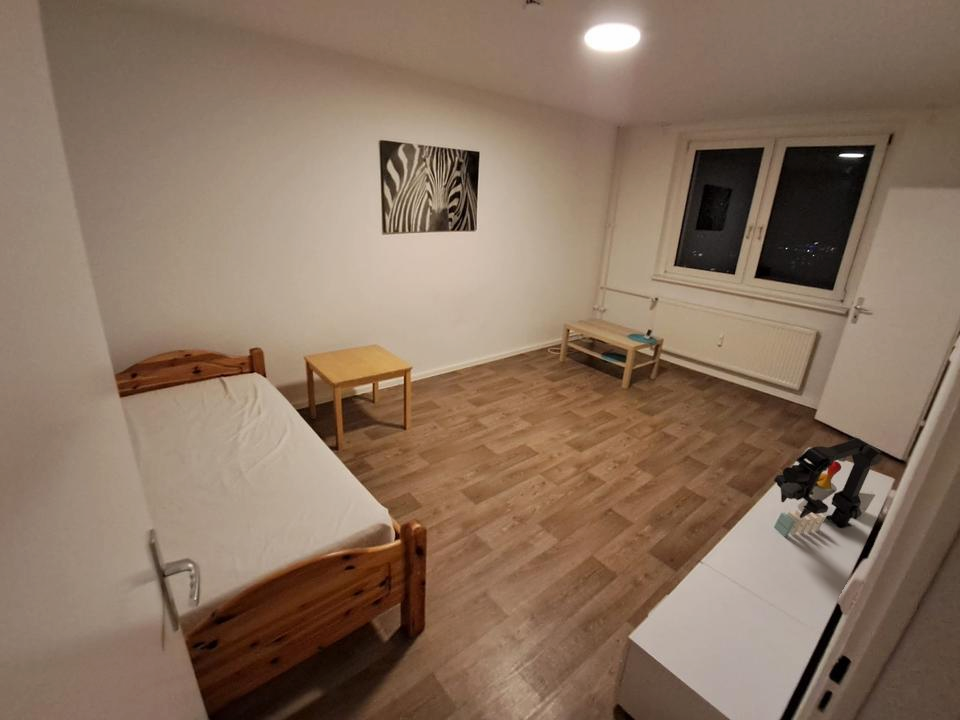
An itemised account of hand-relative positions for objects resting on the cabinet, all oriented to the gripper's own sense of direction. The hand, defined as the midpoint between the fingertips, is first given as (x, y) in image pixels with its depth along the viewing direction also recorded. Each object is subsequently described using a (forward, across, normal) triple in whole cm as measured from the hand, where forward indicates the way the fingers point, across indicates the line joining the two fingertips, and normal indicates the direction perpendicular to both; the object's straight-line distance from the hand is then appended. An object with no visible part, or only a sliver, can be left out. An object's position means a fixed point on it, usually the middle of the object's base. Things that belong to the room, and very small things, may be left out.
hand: (791, 509), depth 172 cm
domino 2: (+12, 0, +4) cm, 13 cm away
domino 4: (+12, 0, +12) cm, 17 cm away
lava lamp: (+12, -8, +24) cm, 28 cm away
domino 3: (+12, 0, +8) cm, 14 cm away
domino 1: (+12, 0, 0) cm, 12 cm away
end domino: (+12, 0, +16) cm, 20 cm away
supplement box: (+12, -6, +44) cm, 46 cm away
